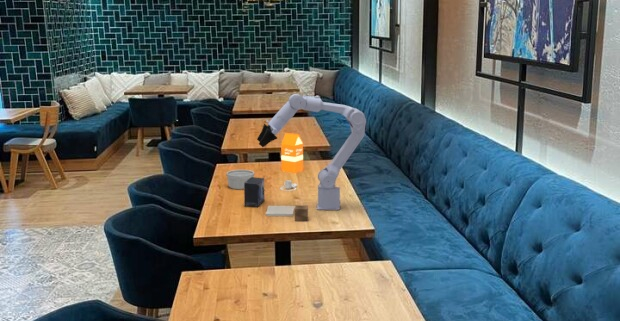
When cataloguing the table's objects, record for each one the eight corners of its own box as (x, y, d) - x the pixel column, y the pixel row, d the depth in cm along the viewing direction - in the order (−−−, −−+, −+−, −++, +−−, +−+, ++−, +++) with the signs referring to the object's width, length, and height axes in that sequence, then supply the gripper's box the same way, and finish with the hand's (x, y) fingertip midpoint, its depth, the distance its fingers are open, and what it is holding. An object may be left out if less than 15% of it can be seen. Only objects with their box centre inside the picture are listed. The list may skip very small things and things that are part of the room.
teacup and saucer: (295, 186, 285) (295, 178, 284) (300, 190, 278) (300, 182, 277) (278, 188, 283) (277, 179, 282) (282, 192, 275) (282, 183, 274)
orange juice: (295, 173, 310) (294, 135, 306) (281, 170, 315) (280, 133, 310) (303, 170, 316) (303, 133, 312) (289, 168, 321) (289, 131, 317)
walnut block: (307, 217, 238) (307, 205, 237) (307, 221, 233) (307, 209, 232) (295, 217, 238) (295, 205, 237) (294, 221, 233) (294, 209, 232)
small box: (258, 207, 251) (258, 183, 248) (243, 206, 252) (243, 182, 250) (265, 200, 261) (265, 177, 258) (251, 199, 262) (250, 176, 260)
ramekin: (257, 183, 289) (257, 170, 288) (250, 190, 276) (250, 176, 275) (231, 182, 291) (231, 168, 290) (223, 189, 279) (222, 175, 277)
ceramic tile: (294, 208, 249) (294, 205, 249) (293, 216, 239) (293, 213, 239) (268, 208, 250) (268, 205, 250) (265, 216, 239) (265, 213, 239)
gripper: (272, 108, 246) (250, 133, 247) (276, 115, 232) (254, 141, 233) (284, 119, 248) (263, 143, 249) (289, 126, 234) (267, 152, 235)
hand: (259, 143), depth 241 cm, fingers open, 7 cm apart
